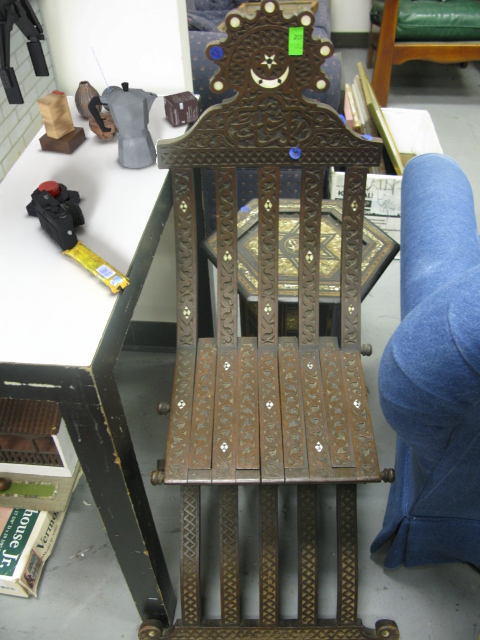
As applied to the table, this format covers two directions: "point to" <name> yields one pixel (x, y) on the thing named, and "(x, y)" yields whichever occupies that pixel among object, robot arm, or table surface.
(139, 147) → the coffeepot
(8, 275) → the table surface
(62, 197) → the button block
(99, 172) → the table surface
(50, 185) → the button
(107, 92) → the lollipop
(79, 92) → the vase
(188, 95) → the box
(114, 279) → the candy bar
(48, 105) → the tan wooden block
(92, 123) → the artifact
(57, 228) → the camera
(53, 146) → the brown square block
